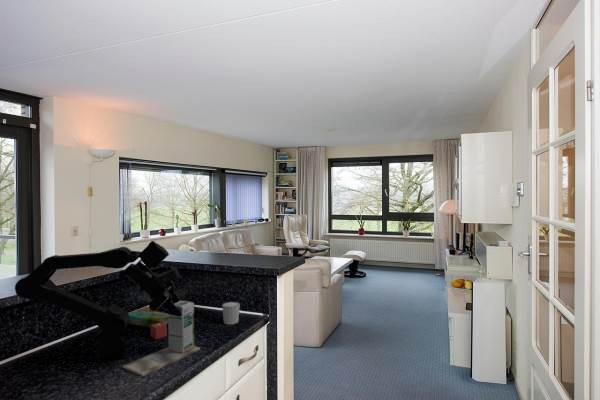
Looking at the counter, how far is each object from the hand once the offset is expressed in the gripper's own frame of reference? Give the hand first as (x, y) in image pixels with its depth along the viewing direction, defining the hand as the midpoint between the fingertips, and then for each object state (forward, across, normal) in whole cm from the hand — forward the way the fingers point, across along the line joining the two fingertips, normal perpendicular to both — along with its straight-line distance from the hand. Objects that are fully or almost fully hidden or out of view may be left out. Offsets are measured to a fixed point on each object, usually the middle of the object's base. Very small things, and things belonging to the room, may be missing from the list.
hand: (181, 310), depth 117 cm
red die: (+3, +14, +15) cm, 21 cm away
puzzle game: (+1, +29, +18) cm, 34 cm away
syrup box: (+9, 0, +9) cm, 12 cm away
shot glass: (+21, +23, -3) cm, 31 cm away
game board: (+5, -5, +12) cm, 14 cm away
